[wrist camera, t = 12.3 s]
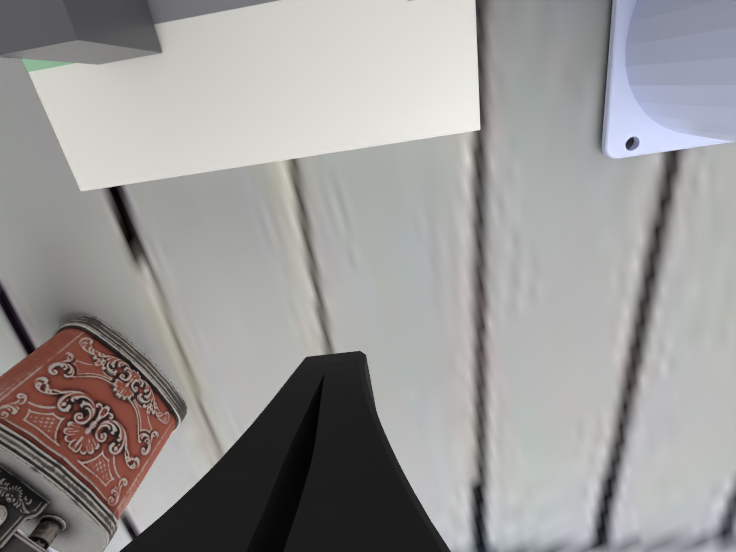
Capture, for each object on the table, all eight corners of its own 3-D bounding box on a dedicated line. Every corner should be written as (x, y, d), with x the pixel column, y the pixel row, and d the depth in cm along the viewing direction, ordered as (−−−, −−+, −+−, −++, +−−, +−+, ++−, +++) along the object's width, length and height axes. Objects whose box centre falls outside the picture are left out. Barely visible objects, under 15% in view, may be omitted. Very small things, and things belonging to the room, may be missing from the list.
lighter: (49, 333, 22) (-193, 512, 13) (93, 303, 21) (-133, 472, 12) (158, 433, 24) (23, 640, 15) (201, 410, 23) (85, 615, 14)
